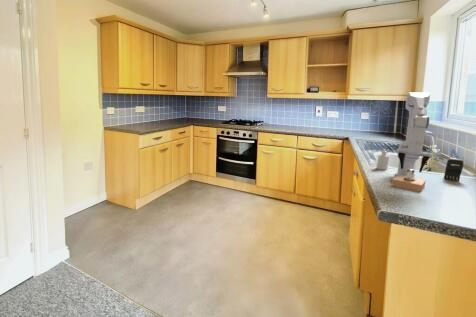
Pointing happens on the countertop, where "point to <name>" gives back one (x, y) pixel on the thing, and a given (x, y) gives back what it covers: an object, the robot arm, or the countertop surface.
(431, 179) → the countertop surface
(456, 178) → the battery charger
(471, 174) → the countertop surface
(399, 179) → the hole block
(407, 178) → the steel peg
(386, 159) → the eye dropper bottle
